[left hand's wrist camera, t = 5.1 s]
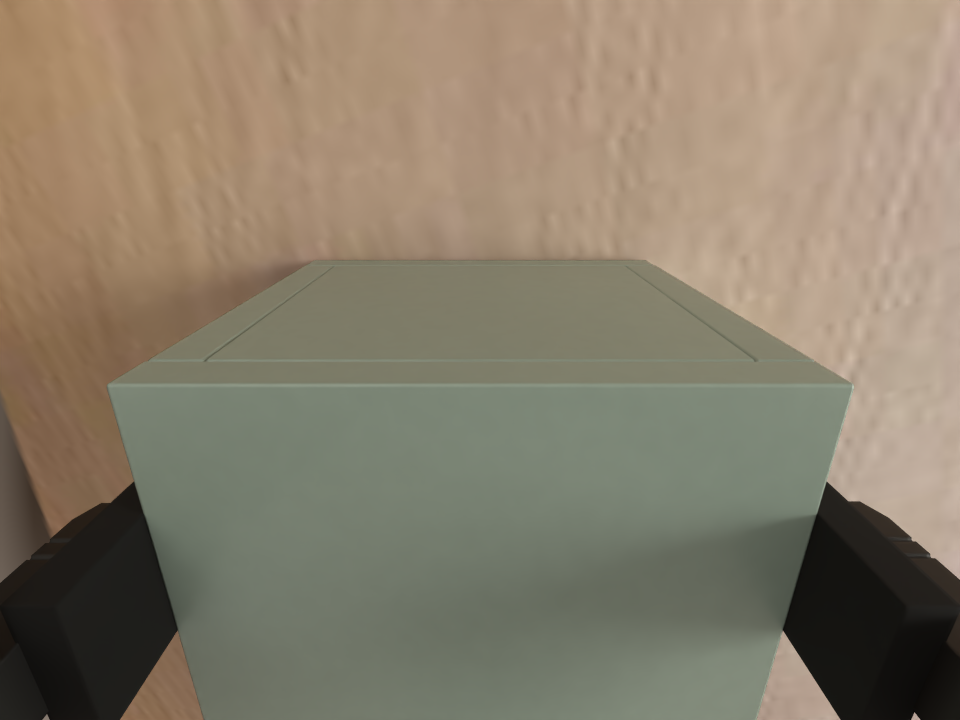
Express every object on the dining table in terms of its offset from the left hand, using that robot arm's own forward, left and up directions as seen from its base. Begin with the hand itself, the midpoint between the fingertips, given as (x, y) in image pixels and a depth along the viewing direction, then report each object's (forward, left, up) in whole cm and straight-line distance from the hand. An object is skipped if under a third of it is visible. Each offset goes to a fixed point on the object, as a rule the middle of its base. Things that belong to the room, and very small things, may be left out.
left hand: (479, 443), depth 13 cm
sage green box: (+4, +1, -6) cm, 7 cm away
